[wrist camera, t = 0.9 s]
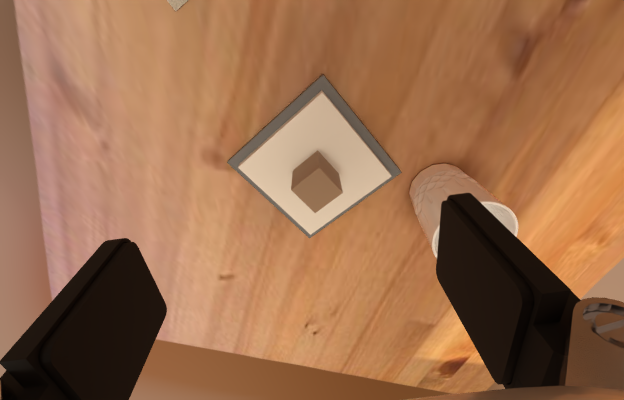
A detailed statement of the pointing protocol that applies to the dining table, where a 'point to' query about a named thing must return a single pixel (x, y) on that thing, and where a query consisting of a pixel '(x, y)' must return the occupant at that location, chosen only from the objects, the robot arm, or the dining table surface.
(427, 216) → the white cup
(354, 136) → the lid
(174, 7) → the condiment
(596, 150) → the dining table surface
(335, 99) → the grey flat square slab
